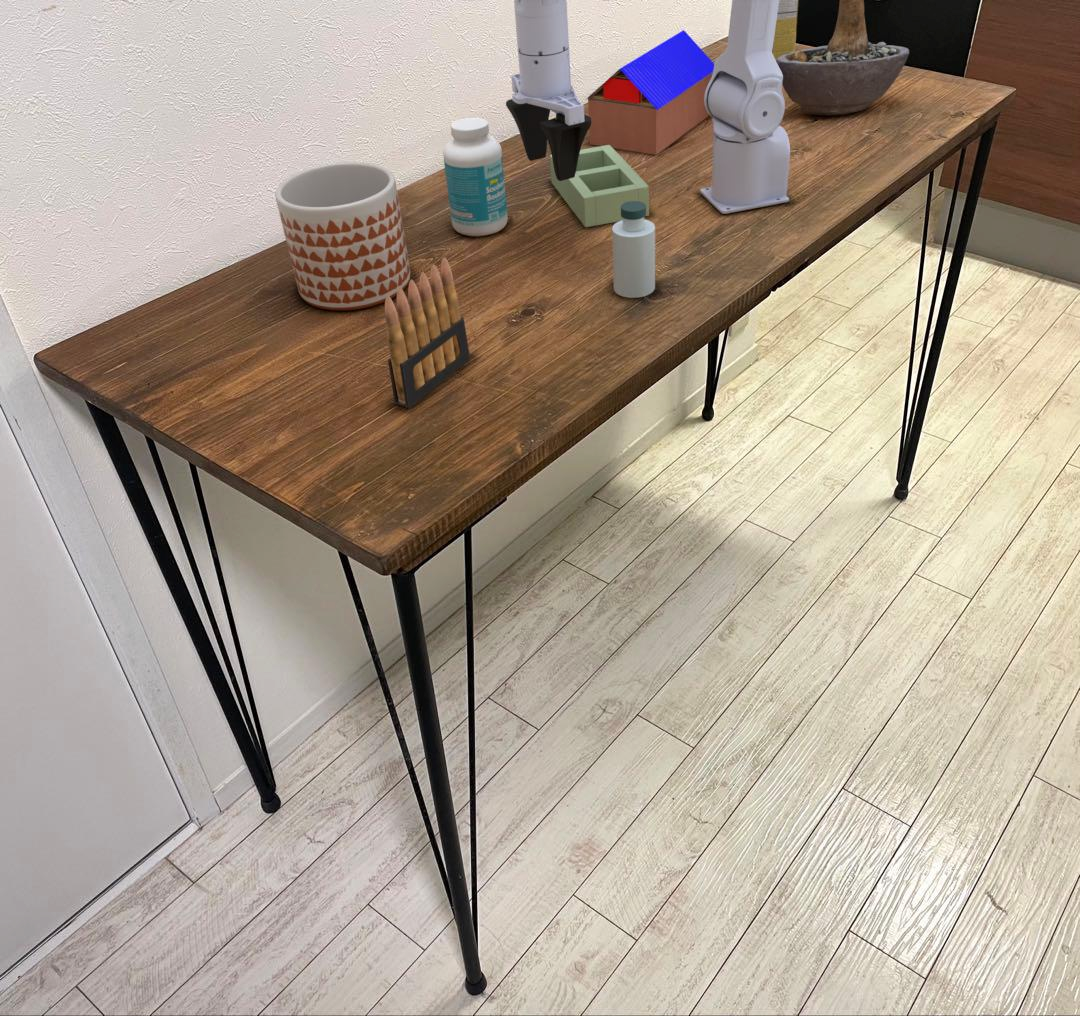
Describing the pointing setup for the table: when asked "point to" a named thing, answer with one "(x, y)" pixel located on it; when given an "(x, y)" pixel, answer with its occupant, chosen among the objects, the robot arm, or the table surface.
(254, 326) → the table surface
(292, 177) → the patterned ceramic pot
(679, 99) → the house
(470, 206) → the pill bottle
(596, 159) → the tray
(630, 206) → the bottle
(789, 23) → the candy box
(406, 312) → the ammunition clip
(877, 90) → the planter
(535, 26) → the robot arm
